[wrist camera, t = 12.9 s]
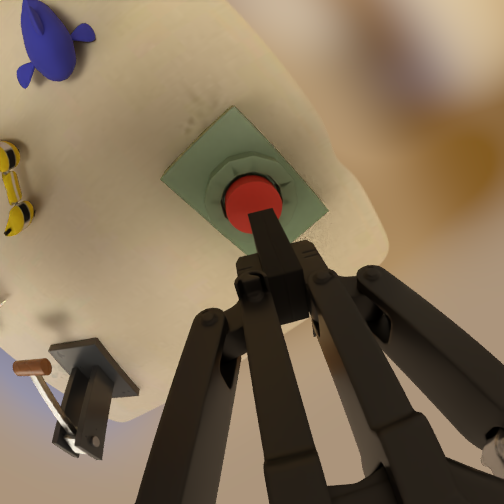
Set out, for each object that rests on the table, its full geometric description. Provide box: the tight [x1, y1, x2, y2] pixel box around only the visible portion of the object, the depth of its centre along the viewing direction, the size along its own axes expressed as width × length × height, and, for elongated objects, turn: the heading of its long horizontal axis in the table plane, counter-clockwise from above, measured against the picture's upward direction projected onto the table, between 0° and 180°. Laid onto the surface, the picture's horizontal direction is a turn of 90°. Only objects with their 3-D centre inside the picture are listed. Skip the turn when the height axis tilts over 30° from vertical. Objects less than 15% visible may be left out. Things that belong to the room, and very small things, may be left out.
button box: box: [160, 106, 329, 255], centre depth 23 cm, size 12×8×4 cm, turn 43°
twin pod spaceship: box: [0, 141, 35, 236], centre depth 20 cm, size 10×6×4 cm, turn 4°
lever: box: [13, 358, 86, 454], centre depth 23 cm, size 13×6×2 cm, turn 13°
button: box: [225, 175, 282, 234], centre depth 21 cm, size 4×4×2 cm
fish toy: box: [17, 0, 95, 89], centre depth 11 cm, size 15×8×7 cm, turn 27°
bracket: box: [49, 338, 139, 460], centre depth 29 cm, size 12×9×14 cm
